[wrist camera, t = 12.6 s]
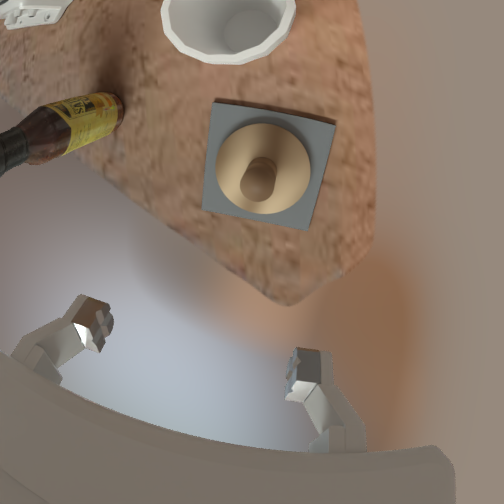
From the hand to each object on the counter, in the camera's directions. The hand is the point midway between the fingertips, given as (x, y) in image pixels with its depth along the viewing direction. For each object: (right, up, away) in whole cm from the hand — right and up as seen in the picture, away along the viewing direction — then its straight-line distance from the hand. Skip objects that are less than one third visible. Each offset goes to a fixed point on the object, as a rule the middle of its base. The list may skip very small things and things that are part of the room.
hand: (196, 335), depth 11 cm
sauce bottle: (-17, +22, +20) cm, 34 cm away
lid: (+4, +13, +21) cm, 25 cm away
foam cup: (+2, +27, +13) cm, 30 cm away
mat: (+4, +13, +22) cm, 26 cm away
